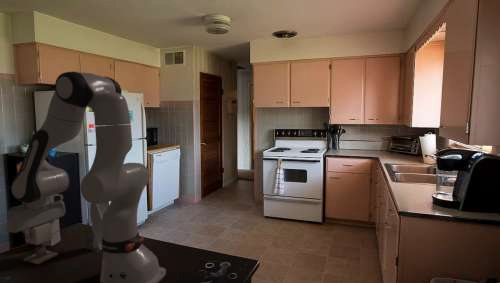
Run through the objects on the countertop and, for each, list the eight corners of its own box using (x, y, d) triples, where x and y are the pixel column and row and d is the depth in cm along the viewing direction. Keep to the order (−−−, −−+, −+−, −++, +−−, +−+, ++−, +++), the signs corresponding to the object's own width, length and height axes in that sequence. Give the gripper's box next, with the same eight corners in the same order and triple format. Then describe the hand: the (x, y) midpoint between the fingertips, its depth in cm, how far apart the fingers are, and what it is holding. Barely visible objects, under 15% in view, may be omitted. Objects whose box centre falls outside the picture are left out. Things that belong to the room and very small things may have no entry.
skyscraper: (103, 241, 132) (100, 179, 129) (116, 244, 128) (113, 181, 126) (86, 248, 124) (82, 183, 122) (98, 252, 121) (95, 186, 118)
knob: (52, 238, 117) (51, 222, 117) (37, 245, 112) (35, 227, 111) (42, 236, 120) (40, 220, 119) (26, 242, 114) (25, 225, 113)
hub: (58, 254, 119) (57, 243, 118) (37, 264, 111) (36, 251, 111) (44, 251, 122) (43, 240, 121) (23, 260, 114) (22, 248, 114)
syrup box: (61, 240, 132) (58, 209, 130) (51, 246, 126) (48, 213, 124) (49, 240, 132) (47, 208, 131) (38, 246, 126) (36, 213, 125)
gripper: (12, 209, 103) (15, 247, 105) (66, 194, 122) (68, 226, 124) (0, 207, 105) (4, 244, 107) (56, 192, 124) (58, 224, 126)
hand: (39, 234), depth 115 cm, fingers closed on knob, 6 cm apart
